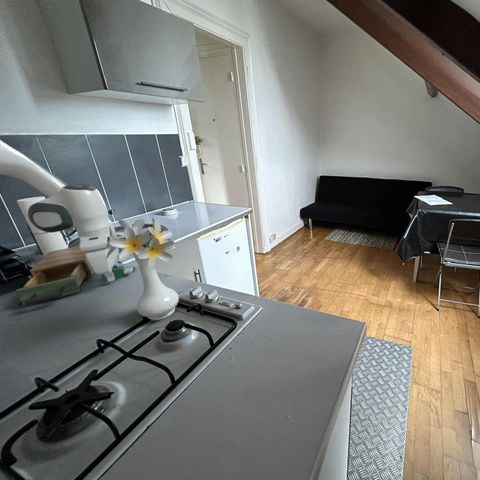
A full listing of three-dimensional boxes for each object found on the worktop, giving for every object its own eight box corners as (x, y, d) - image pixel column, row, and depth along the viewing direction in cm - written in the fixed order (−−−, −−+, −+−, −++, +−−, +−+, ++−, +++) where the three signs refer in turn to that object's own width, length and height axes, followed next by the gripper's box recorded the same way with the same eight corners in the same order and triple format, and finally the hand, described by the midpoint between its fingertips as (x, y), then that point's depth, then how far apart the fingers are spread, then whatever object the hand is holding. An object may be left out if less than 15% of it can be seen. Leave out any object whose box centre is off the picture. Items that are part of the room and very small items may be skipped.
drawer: (75, 299, 75) (68, 285, 73) (15, 314, 69) (6, 299, 67) (91, 270, 92) (86, 258, 90) (45, 280, 86) (38, 267, 85)
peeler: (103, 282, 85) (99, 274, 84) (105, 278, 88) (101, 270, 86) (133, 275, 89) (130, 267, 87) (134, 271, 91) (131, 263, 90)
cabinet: (92, 276, 89) (85, 259, 87) (39, 288, 83) (29, 270, 81) (102, 258, 104) (96, 243, 101) (57, 267, 98) (49, 251, 95)
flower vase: (166, 339, 59) (130, 236, 50) (117, 319, 66) (79, 227, 57) (210, 306, 70) (188, 216, 60) (164, 292, 77) (138, 211, 68)
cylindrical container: (43, 265, 100) (11, 202, 90) (55, 258, 106) (26, 197, 97) (65, 262, 101) (35, 199, 92) (75, 255, 108) (49, 195, 99)
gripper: (93, 229, 89) (107, 265, 94) (77, 249, 72) (96, 291, 78) (115, 226, 92) (128, 261, 97) (105, 244, 75) (121, 285, 80)
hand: (114, 274), depth 87 cm, fingers open, 7 cm apart
